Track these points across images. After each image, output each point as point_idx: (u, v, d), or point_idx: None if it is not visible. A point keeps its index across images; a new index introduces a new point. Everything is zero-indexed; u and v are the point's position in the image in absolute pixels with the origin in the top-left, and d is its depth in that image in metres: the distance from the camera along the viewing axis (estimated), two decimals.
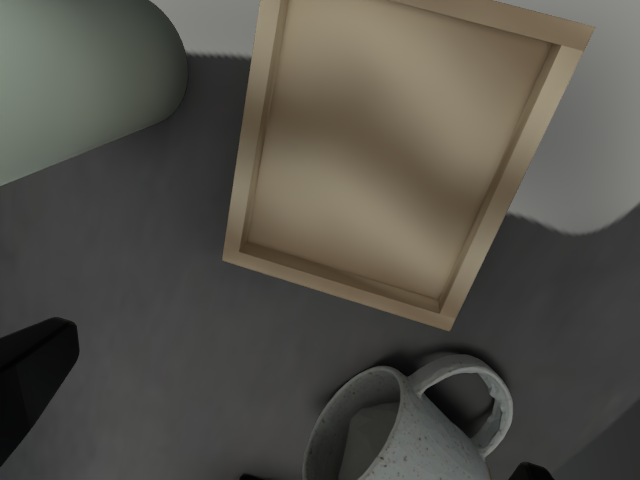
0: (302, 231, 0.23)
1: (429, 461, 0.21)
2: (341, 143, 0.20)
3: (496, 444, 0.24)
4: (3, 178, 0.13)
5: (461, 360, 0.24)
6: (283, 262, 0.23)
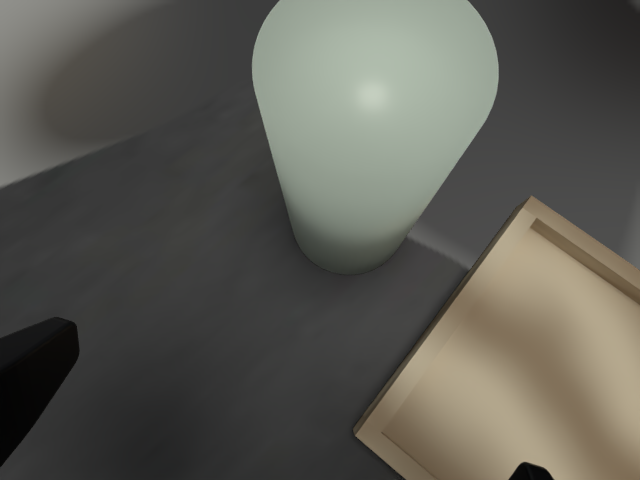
0: (446, 441, 0.20)
1: None
2: (521, 364, 0.21)
3: None
4: (391, 212, 0.13)
5: None
6: (422, 467, 0.19)
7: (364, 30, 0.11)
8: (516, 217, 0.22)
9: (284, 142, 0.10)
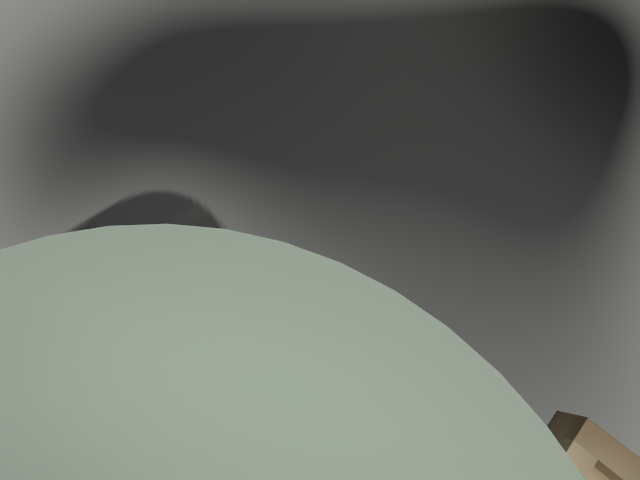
0: None
1: None
2: None
3: None
4: None
5: None
6: None
7: None
8: None
9: None
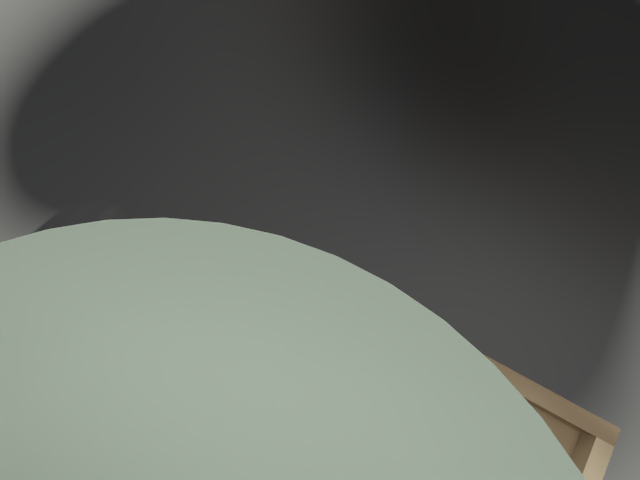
0: None
1: None
2: None
3: None
4: None
5: None
6: None
7: None
8: None
9: None
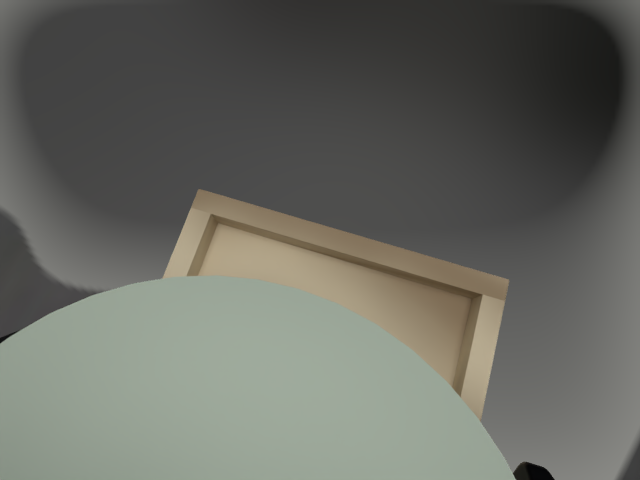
0: None
1: None
2: None
3: None
4: None
5: None
6: None
7: None
8: (186, 222, 0.17)
9: None
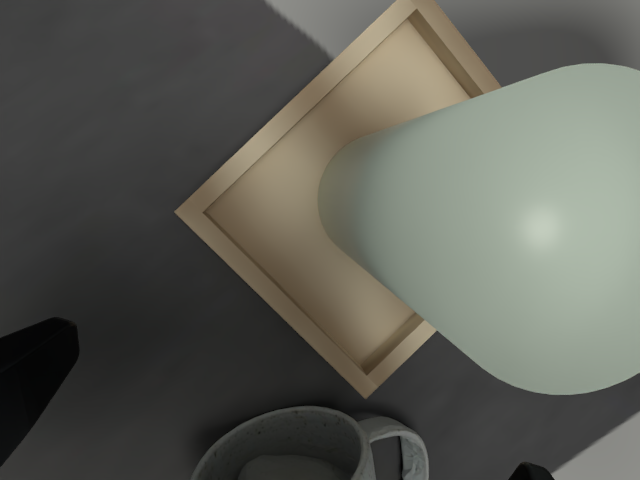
0: (273, 231, 0.20)
1: None
2: None
3: None
4: None
5: (403, 425, 0.22)
6: (241, 250, 0.19)
7: (603, 186, 0.08)
8: (394, 3, 0.19)
9: (429, 281, 0.08)
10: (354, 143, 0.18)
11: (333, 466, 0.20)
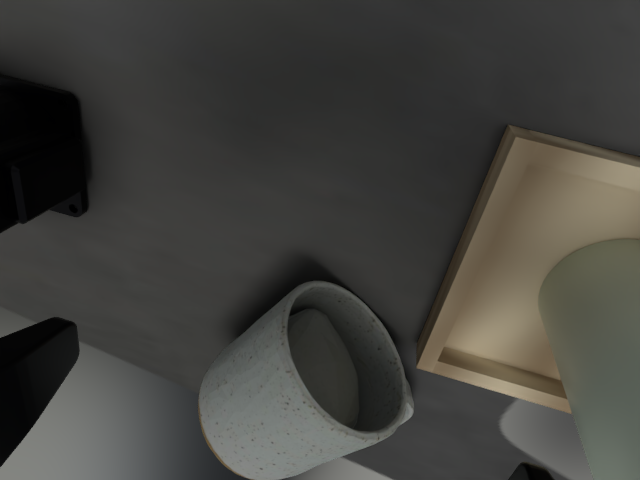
0: (531, 223, 0.19)
1: None
2: None
3: None
4: None
5: None
6: None
7: None
8: None
9: None
10: None
11: (358, 378, 0.22)
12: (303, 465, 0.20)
